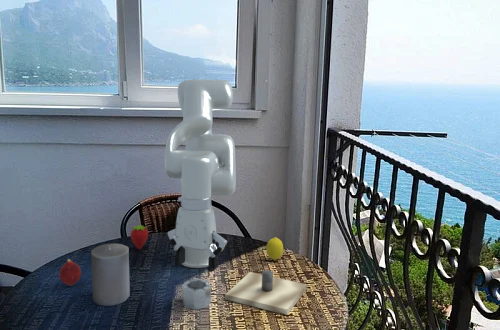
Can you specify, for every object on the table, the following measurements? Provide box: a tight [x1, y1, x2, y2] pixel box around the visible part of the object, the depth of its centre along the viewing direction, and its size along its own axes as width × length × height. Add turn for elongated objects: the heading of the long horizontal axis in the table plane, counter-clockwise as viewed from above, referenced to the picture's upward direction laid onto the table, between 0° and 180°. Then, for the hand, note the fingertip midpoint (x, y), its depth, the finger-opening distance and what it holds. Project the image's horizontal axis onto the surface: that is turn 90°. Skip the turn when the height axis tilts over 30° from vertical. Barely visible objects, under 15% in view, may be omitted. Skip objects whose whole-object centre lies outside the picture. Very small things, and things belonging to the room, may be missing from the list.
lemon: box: [266, 236, 284, 261], centre depth 151 cm, size 6×6×8 cm
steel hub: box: [182, 278, 212, 310], centre depth 122 cm, size 7×7×5 cm
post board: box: [224, 269, 308, 316], centre depth 128 cm, size 18×16×6 cm
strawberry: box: [130, 223, 149, 250], centre depth 158 cm, size 6×8×10 cm
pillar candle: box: [90, 243, 131, 307], centre depth 123 cm, size 10×10×15 cm
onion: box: [58, 258, 82, 287], centre depth 130 cm, size 6×6×8 cm
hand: (196, 266), depth 120 cm, fingers open, 9 cm apart
